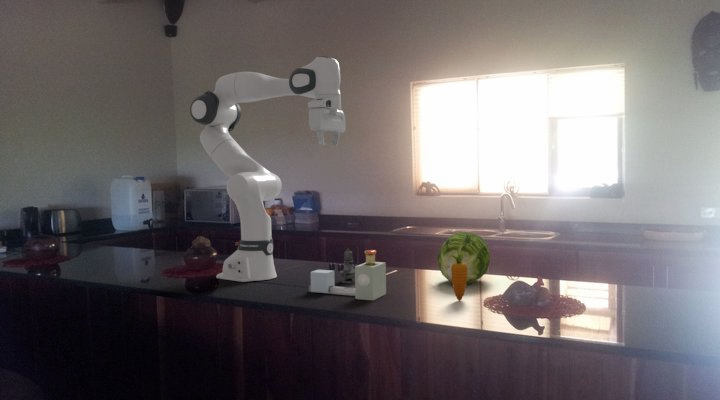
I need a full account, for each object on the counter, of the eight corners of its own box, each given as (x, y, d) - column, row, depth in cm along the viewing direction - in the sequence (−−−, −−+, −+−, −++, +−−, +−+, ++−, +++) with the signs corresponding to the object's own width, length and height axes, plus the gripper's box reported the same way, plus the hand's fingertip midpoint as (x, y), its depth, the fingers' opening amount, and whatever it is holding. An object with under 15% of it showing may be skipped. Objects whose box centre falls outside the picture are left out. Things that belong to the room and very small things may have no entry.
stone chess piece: (355, 283, 206) (354, 249, 205) (338, 283, 207) (338, 248, 206) (358, 280, 212) (358, 246, 211) (342, 279, 213) (341, 246, 212)
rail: (308, 291, 193) (308, 285, 193) (312, 290, 195) (312, 284, 195) (360, 296, 185) (360, 290, 185) (363, 294, 187) (363, 288, 187)
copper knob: (362, 269, 184) (362, 251, 183) (367, 267, 187) (367, 249, 187) (373, 270, 182) (373, 252, 182) (378, 268, 185) (378, 250, 185)
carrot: (464, 303, 174) (463, 252, 173) (448, 301, 176) (448, 251, 176) (470, 300, 178) (470, 250, 177) (454, 298, 181) (454, 249, 180)
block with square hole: (354, 299, 181) (354, 266, 181) (368, 292, 191) (368, 261, 190) (372, 300, 179) (372, 267, 178) (386, 293, 188) (385, 262, 188)
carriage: (310, 291, 191) (310, 272, 191) (318, 288, 196) (318, 269, 195) (327, 292, 189) (327, 273, 188) (334, 289, 193) (334, 270, 193)
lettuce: (425, 288, 197) (432, 240, 193) (442, 266, 218) (449, 222, 214) (477, 302, 191) (486, 252, 187) (490, 278, 213) (498, 232, 208)
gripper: (333, 107, 214) (334, 146, 215) (305, 102, 195) (305, 144, 196) (349, 106, 211) (350, 145, 212) (322, 101, 193) (322, 144, 194)
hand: (328, 145), depth 204 cm, fingers open, 8 cm apart
